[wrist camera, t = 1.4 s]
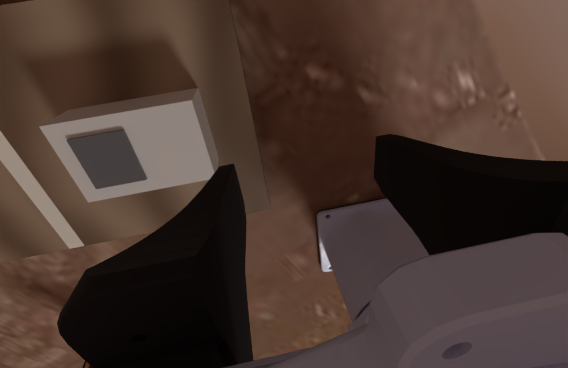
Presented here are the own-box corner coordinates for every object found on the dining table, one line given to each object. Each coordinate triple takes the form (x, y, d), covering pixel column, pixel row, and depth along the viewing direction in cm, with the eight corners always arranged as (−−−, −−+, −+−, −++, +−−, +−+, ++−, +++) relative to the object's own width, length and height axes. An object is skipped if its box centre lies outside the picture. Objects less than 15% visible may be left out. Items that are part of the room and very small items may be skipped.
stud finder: (197, 87, 17) (191, 101, 15) (218, 157, 20) (215, 179, 17) (68, 109, 17) (36, 127, 14) (107, 178, 20) (86, 204, 17)
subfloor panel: (224, -26, 15) (223, -28, 14) (269, 201, 24) (270, 208, 23) (-200, 37, 14) (-228, 38, 13) (9, 253, 23) (0, 262, 22)
